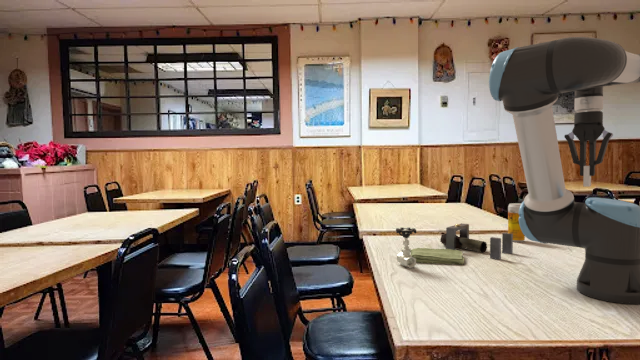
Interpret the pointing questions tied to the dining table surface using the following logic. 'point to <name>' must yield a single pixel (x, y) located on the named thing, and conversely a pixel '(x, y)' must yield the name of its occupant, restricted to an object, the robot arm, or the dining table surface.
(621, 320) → the dining table surface
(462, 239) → the dark green flashlight
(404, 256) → the valve
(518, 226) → the beer glass
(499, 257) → the grey upright posts
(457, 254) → the washcloth
